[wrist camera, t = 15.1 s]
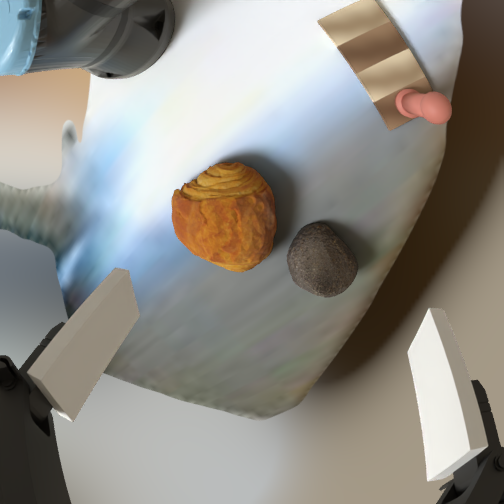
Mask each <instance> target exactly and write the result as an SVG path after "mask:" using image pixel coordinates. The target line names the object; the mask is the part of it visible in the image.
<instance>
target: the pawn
mask: <svg viewBox="0 0 504 504" xmlns="http://www.w3.org/2000/svg"><path fill="white" fill-rule="evenodd" d="M395 106H396V108H397V110H398V111H399V113H401V114H402V115H404V116H406V117H409V118H416V117H419V116H420V117H424V118H426V120H428V121H429V122H431V123H433V124H443V123H445V122H447V121H448V120H449V118H450V117H451V112H452V109H451V104H450V102H449V100H448V99H447V98H446V97H445V96H444V95H443V94H441V93H439V92H428V93H426V94H420V93H419V92H417V91H416V90H413V89H403V90H400V91H399V92H398V93H397V95H396V97H395Z"/></svg>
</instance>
